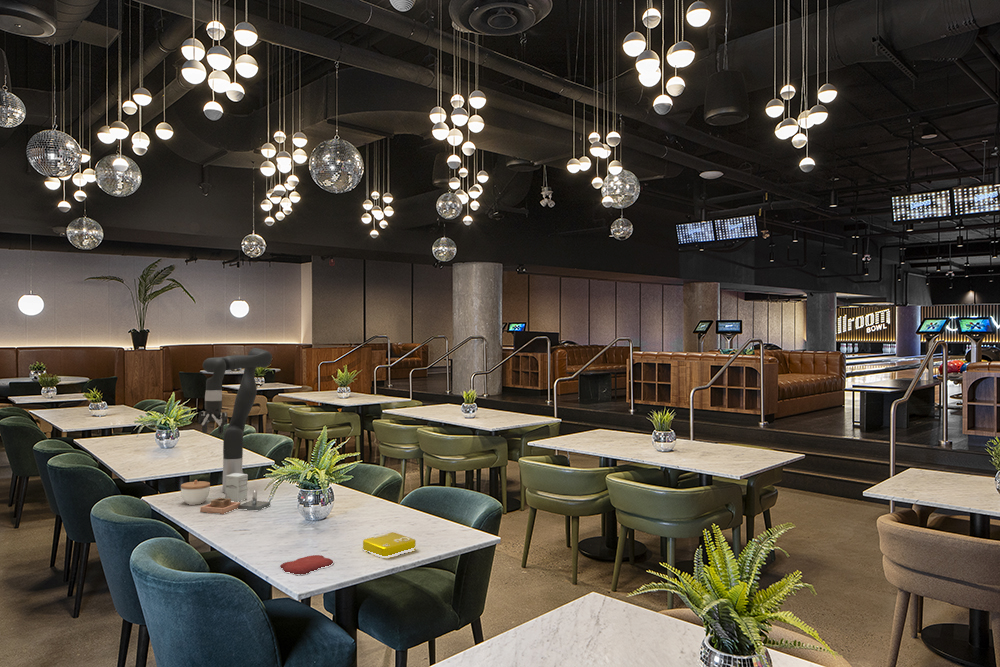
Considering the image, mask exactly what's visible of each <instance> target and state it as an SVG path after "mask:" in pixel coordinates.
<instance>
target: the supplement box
mask: <svg viewBox="0 0 1000 667" xmlns="http://www.w3.org/2000/svg"><path fill="white" fill-rule="evenodd" d="M248 477H249V475H248V474H247V473H243V474H241V473H233V474H230V475H226V487H225V493H224V498H229V499H231V501H234V502H238V501H241V500H244V499H247V500H248V479H249V478H248ZM244 501H245V500H244ZM241 502H242V501H241Z"/></svg>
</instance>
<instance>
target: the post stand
mask: <svg viewBox="0 0 1000 667" xmlns="http://www.w3.org/2000/svg"><path fill="white" fill-rule="evenodd" d="M257 497H258V490H257V489H254V490H252V500H249V501H247V502H246V501H245V502H244V503H241V504H240V505H238V509H247V510H259V509H262V508H264V507H267V506H269V505H270V506H271V501H263V500H257V499H258V498H257ZM270 506H269V507H270ZM267 508H268V507H267ZM238 509H237V510H238ZM247 510H246V511H247ZM262 510H263V509H262Z"/></svg>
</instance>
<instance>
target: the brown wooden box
mask: <svg viewBox="0 0 1000 667" xmlns="http://www.w3.org/2000/svg"><path fill="white" fill-rule="evenodd" d="M210 503H211V507H215V508H225V507H228V506H230V505H231V499H229V498H225V497H219V498H218V497H217V498H215V499H212V500H211V499H210Z"/></svg>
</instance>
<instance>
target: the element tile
mask: <svg viewBox="0 0 1000 667" xmlns="http://www.w3.org/2000/svg"><path fill="white" fill-rule="evenodd" d="M416 544H417V542H416V539H415V538H411V537H410V536H409V537H408V536H405V535H402V534H400V533H397V532H389V533H388V532H387V533H384V534H380V535H375V536H372V537H369V538H364V539H363V540H362V550H363V549H364V550H367V551H370V552H373V553H376V554H379V555H382V556H388V555H392V554H395V553H398V552H401V551H404V550H408V549H411V548H414V547H415V546H416ZM416 547H417V546H416Z"/></svg>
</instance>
